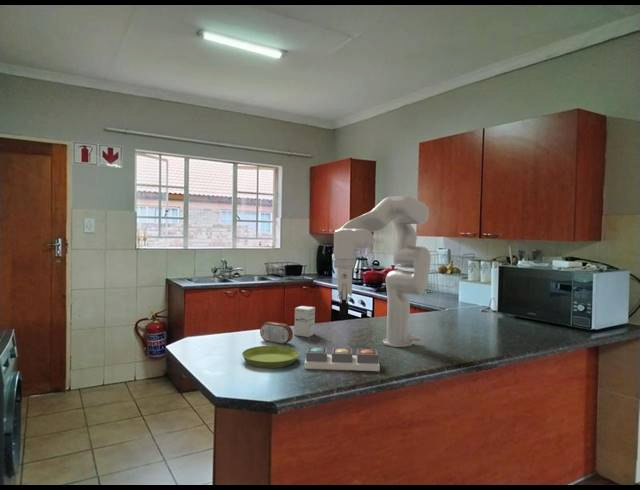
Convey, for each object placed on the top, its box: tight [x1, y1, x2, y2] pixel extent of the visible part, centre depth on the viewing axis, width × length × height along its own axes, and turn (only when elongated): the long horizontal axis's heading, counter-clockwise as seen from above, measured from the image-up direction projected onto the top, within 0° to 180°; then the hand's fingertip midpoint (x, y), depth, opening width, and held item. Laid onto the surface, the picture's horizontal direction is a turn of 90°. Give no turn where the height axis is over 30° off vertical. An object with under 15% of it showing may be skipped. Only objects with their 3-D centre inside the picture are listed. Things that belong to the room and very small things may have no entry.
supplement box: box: [293, 305, 316, 338], centre depth 200 cm, size 7×7×13 cm
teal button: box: [310, 347, 324, 353], centre depth 157 cm, size 5×5×3 cm
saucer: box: [241, 345, 300, 369], centre depth 160 cm, size 21×21×3 cm
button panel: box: [303, 346, 381, 372], centre depth 156 cm, size 26×11×5 cm, turn 87°
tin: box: [259, 321, 294, 345], centre depth 186 cm, size 15×3×8 cm, turn 65°
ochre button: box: [335, 348, 349, 354], centre depth 156 cm, size 5×5×3 cm
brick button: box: [360, 350, 374, 354], centre depth 156 cm, size 5×5×3 cm
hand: (343, 313), depth 159 cm, fingers closed
